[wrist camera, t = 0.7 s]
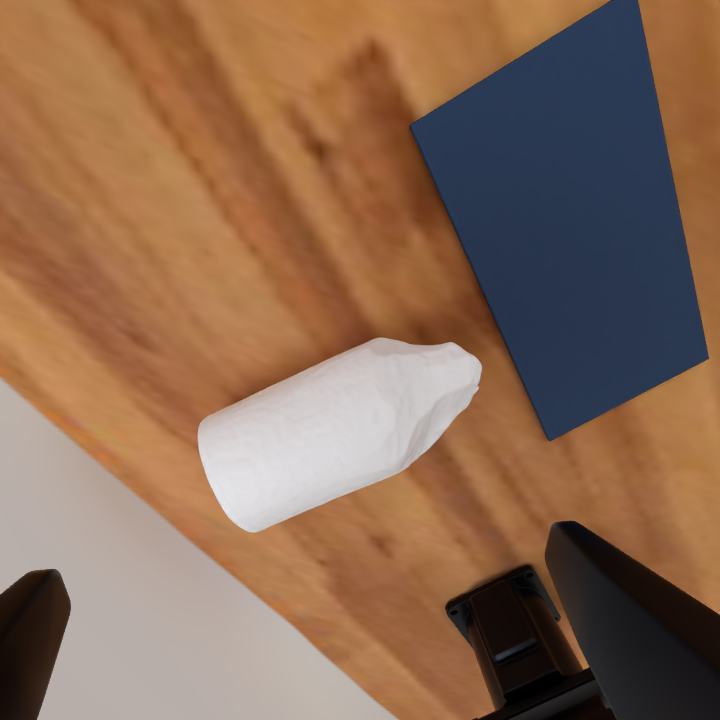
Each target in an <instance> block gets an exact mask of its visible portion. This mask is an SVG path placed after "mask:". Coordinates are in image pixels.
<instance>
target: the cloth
mask: <svg viewBox="0 0 720 720" xmlns="http://www.w3.org/2000/svg"><path fill="white" fill-rule="evenodd" d="M409 127H410V129H411V132H412V134H413V136H414V139H415V141H416V143H417V145H418V148H419V150H420V152H421V154H422V157H423V159H424V161H425V163H426V166H427V168H428V170H429V172H430V175H431V177H432V179H433V182H434V184H435V186H436V188H437V191H438V193H439V195H440V197H441V200H442V202H443V204H444V206H445V209H446V211H447V213H448V215H449V218H450V220H451V222H452V224H453V227H454V229H455V231H456V234H457V236H458V238H459V240H460V243H461V245H462V247H463V249H464V252H465V254H466V256H467V258H468V261H469V263H470V265H471V267H472V270H473V272H474V274H475V276H476V279H477V281H478V283H479V286H480V288H481V290H482V292H483V295H484V297H485V299H486V301H487V304H488V306H489V308H490V310H491V313H492V315H493V317H494V319H495V322H496V324H497V326H498V329H499V331H500V333H501V335H502V338H503V340H504V342H505V344H506V347H507V349H508V351H509V353H510V356H511V358H512V360H513V362H514V365H515V367H516V369H517V371H518V374H519V376H520V378H521V381H522V383H523V385H524V387H525V390H526V392H527V394H528V396H529V399H530V401H531V403H532V405H533V408H534V410H535V412H536V414H537V417H538V419H539V421H540V423H541V426H542V428H543V430H544V433H545V435H546V437H547V439H548V440H549V441H551V440H553V439H555V438H557V437H559V436H561V435H563V434H565V433H567V432H569V431H571V430H573V429H574V428H576V427H578V426H580V425H582V424H584V423H586V422H588V421H590V420H592V419H594V418H596V417H598V416H599V415H601V414H603V413H605V412H607V411H609V410H611V409H613V408H615V407H617V406H619V405H621V404H623V403H625V402H626V401H628V400H630V399H632V398H634V397H636V396H638V395H640V394H642V393H644V392H646V391H648V390H650V389H651V388H653V387H655V386H657V385H659V384H661V383H663V382H665V381H667V380H669V379H671V378H673V377H675V376H676V375H678V374H680V373H682V372H684V371H686V370H688V369H690V368H692V367H694V366H696V365H698V364H700V363H702V362H703V361H705V360H707V359H709V356H708V351H707V346H706V341H705V336H704V331H703V326H702V321H701V316H700V311H699V306H698V301H697V296H696V291H695V286H694V281H693V276H692V271H691V266H690V261H689V256H688V251H687V245H686V240H685V235H684V230H683V225H682V220H681V215H680V210H679V205H678V200H677V195H676V190H675V185H674V180H673V175H672V170H671V165H670V160H669V155H668V150H667V145H666V140H665V135H664V130H663V125H662V120H661V114H660V109H659V104H658V99H657V94H656V89H655V84H654V79H653V74H652V69H651V64H650V59H649V54H648V49H647V44H646V39H645V34H644V29H643V24H642V19H641V14H640V9H639V4H638V0H611V1H609V2H608V3H606V4H605V5H603V6H601V7H600V8H598V9H597V10H595V11H593V12H592V13H590V14H588V15H587V16H585V17H584V18H582V19H580V20H579V21H577V22H576V23H574V24H572V25H571V26H569V27H567V28H566V29H564V30H563V31H561V32H559V33H558V34H556V35H555V36H553V37H551V38H550V39H548V40H546V41H545V42H543V43H542V44H540V45H538V46H537V47H535V48H534V49H532V50H530V51H529V52H527V53H525V54H524V55H522V56H521V57H519V58H517V59H516V60H514V61H513V62H511V63H509V64H508V65H506V66H504V67H503V68H501V69H500V70H498V71H496V72H495V73H493V74H492V75H490V76H488V77H487V78H485V79H483V80H482V81H480V82H479V83H477V84H475V85H474V86H472V87H471V88H469V89H467V90H466V91H464V92H462V93H461V94H459V95H458V96H456V97H454V98H453V99H451V100H450V101H448V102H446V103H445V104H443V105H441V106H440V107H438V108H437V109H435V110H433V111H432V112H430V113H429V114H427V115H425V116H424V117H422V118H420V119H419V120H417V121H416V122H414V123H412V124H411V125H409Z"/></svg>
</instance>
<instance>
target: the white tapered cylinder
mask: <svg viewBox="0 0 720 720" xmlns="http://www.w3.org/2000/svg"><path fill="white" fill-rule="evenodd" d="M481 371H482V364H481V363H480V361H479V360H478V359H477V358H476V357H475V356H474V355H472V354H470V353H468V352H466V351H465V350H464V349H463V348H462V347H460V346H458V345H457V344H455V343H453V342H448V343H444V344H440V345H411V344H408V343H406V342H402V341H398V340H393V339H387V338H375V339H373V340H370V341H368V342H366V343H364V344H362V345H359V346H357V347H354V348H351V349H349V350H347V351H345V352H343V353H340V354H338V355H336V356H334V357H331V358H329V359H327V360H325V361H323V362H321V363H319V364H317V365H315V366H313V367H310V368H308V369H306V370H304V371H302V372H299V373H298V374H296V375H294V376H291V377H289V378H287V379H285V380H283V381H280V382H278V383H276V384H274V385H271V386H269V387H267V388H265V389H264V390H261V391H259V392H257V393H255V394H253V395H251V396H249V397H247V398H245V399H243V400H241V401H238V402H236V403H234V404H232V405H230V406H228V407H226V408H224V409H221V410H219V411H217V412H215V413H213V414H211V415H209V416H207V417H205V418H204V419H203V420H202V421H201V423H200V425H199V429H198V445H199V452H200V456H201V461H202V464H203V466H204V470H205V473H206V476H207V479H208V481H209V483H210V486H211V488H212V490H213V491H214V493H215V496H216V498H217V500H218V502H219V503H220V505H221V507H222V508H223V510H224V512H225V514H226V515H227V516H228V517H229V518H230V520H231V521H233V522H234V523H235V524H236V525H237V526H239V527H240V528H242V529H243V530H245V531H248V532H252V533H253V532H254V533H256V532H258V531H262V530H264V529H266V528H268V527H270V526H272V525H274V524H277V523H279V522H282V521H284V520H286V519H289V518H291V517H293V516H296V515H298V514H300V513H303V512H305V511H307V510H310V509H312V508H315V507H317V506H320V505H322V504H324V503H327V502H329V501H331V500H333V499H336V498H338V497H341V496H343V495H346V494H349V493H351V492H353V491H356V490H359V489H361V488H363V487H366V486H368V485H371V484H374V483H377V482H379V481H381V480H384V479H386V478H389V477H391V476H393V475H395V474H398V473H399V472H401V471H403V470H405V469H406V468H408V467H409V466H410V465H411V463H412V462H414V461H415V460H417V459H418V458H419V457H420V456H421V455H422V454H423V453H425V452H426V451H427V450H428V449H429V448H430V447H431V446H432V445H433V444H434V443H435V442H436V441H437V440H438V438H439V437H440V436H441V435H442V433H443V432H444V431H445V430H446V429H447V428H448V426H449V425H450V424H451V422H452V421H453V420H454V419H455V417H456V416H457V415H458V414H459V413H460V412H462V411H463V410H465V409H466V408H467V407H468V405H469V403H470V401H471V400H472V396H473V395H474V394H475V393H476V392H477V390H478V389H479V387H477V385H478V383H479V381H480V374H481Z"/></svg>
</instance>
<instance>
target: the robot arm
mask: <svg viewBox="0 0 720 720" xmlns="http://www.w3.org/2000/svg"><path fill="white" fill-rule="evenodd" d="M545 561H546V565H547V568H548V570H549V573H550V575H551V578H552V580H553V583H554V585H555V588H556V590H557V593H558V595H559V598H560V600H561V603H562V605H563V608H564V610H565V613H566V615H567V618H568V620H569V623H570V625H571V628H572V630H573V632H574V635H575V637H576V639H577V642H578V644H579V646H580V648H581V650H582V652H583V655H584V657H585V659H586V661H587V663H588V665H589V666H590V667H589V668H587V669H585V670H583V668H582V666H581V665H580V663H579V661H578V659H577V657H576V656H575V654H574V652H573V650H572V648H571V647H570V645H569V643H568V641H567V639H566V638H565V636H564V634H563V632H562V630H561V629H560V627H559V625H558V623H557V622H559V621H560V619H561V616H560V615H559V613H558V611H557V609H556V608H555V606H554V604H553V602H552V600H551V599H550V597H549V595H548V593H547V591H546V590H545V588H544V586H543V584H542V583H541V581H540V579H539V577H538V575H537V574H536V572H535V570H534V568H533V567H532V566H530V565H526V566H524V567H521V568H519V569H517V570H515V571H513V572H511V573H509V574H507V575H505V576H503V577H501V578H499V579H497V580H495V581H493V582H491V583H489V584H487V585H485V586H483V587H481V588H479V589H477V590H475V591H473V592H471V593H469V594H467V595H465V596H463V597H461V598H458V599H456V600H454V601H452V602H450V603H449V604H447V605H446V607H445V609H446V612H447V615H448V617H449V618H450V619H451V621H452V622H453V623H454V624H455V626H456V627H457V628H458V630H459V631H460V632H461V634H462V635H463V636H464V638H465V639H466V640H467V641H468V643H469V644H470V645H471V647H472V648H473V649H474V652H475V655H476V658H477V660H478V663H479V666H480V669H481V671H482V674H483V677H484V680H485V683H486V685H487V688H488V691H489V694H490V696H491V699H492V702H493V705H494V708H495V710H496V711H494V712H492V713H490V714H488V715H486V716H484V717H481V718H479V719H478V718H475V719H472V720H720V615H719V614H718V613H716V612H715V611H713V610H712V609H710V608H709V607H707V606H705V605H704V604H702V603H701V602H699V601H698V600H696V599H695V598H693V597H692V596H690V595H689V594H687V593H685V592H684V591H682V590H681V589H679V588H678V587H676V586H675V585H673V584H672V583H670V582H669V581H667V580H665V579H664V578H662V577H661V576H659V575H658V574H656V573H655V572H653V571H652V570H650V569H648V568H647V567H645V566H644V565H642V564H641V563H639V562H638V561H636V560H635V559H633V558H632V557H630V556H628V555H627V554H625V553H624V552H622V551H621V550H619V549H618V548H616V547H615V546H613V545H612V544H610V543H608V542H607V541H605V540H604V539H602V538H601V537H599V536H598V535H596V534H595V533H593V532H592V531H590V530H588V529H587V528H585V527H584V526H582V525H581V524H579V523H577V522H575V521H562V522H555V523H554V524H553V525H552V526H551V530H550V534H549V538H548V542H547V546H546V550H545ZM70 610H71V603H70V598H69V596H68V593H67V591H66V588H65V585H64V582H63V579H62V577H61V574H60V573H59V571H57V570H56V569H46V570H35V571H31V572H29V573H27V574H25V575H24V576H23V577H21V578H20V579H19V580H18V581H16V582H15V583H14V584H13V585H11V586H10V587H9V588H8V589H6V590H5V591H4V592H3V593H2V594H0V720H37V717H38V715H39V712H40V709H41V706H42V703H43V700H44V697H45V694H46V690H47V687H48V684H49V681H50V678H51V674H52V671H53V668H54V665H55V661H56V658H57V655H58V651H59V648H60V645H61V642H62V638H63V635H64V632H65V629H66V626H67V622H68V619H69V616H70Z"/></svg>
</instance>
